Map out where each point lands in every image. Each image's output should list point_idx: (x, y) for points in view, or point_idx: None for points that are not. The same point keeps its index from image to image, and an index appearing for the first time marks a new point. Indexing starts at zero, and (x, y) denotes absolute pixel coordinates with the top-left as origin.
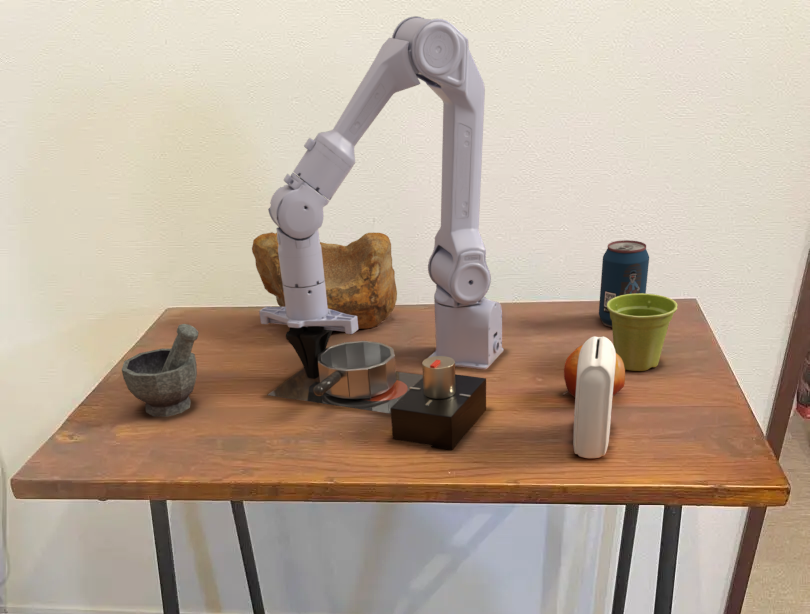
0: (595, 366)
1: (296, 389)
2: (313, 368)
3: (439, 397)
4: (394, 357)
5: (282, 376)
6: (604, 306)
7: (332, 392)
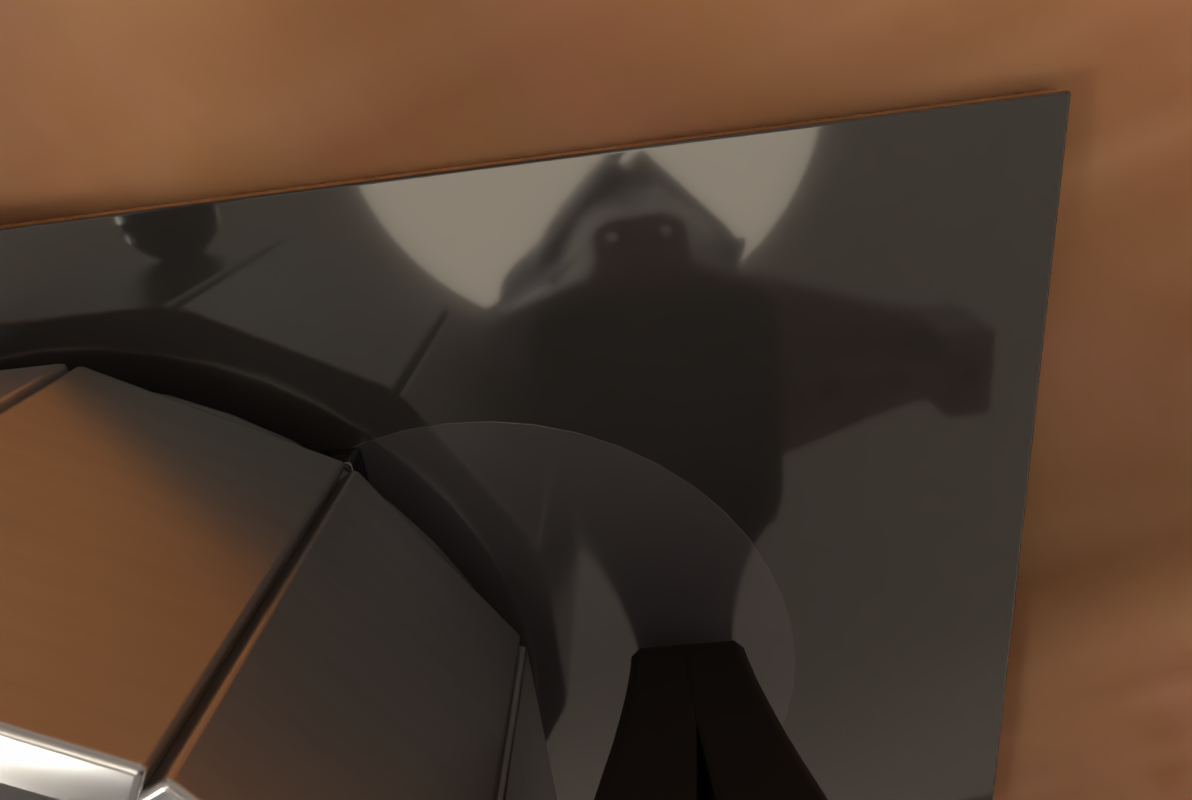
0: None
1: (754, 407)
2: (613, 749)
3: None
4: None
5: (1138, 641)
6: None
7: (32, 374)
